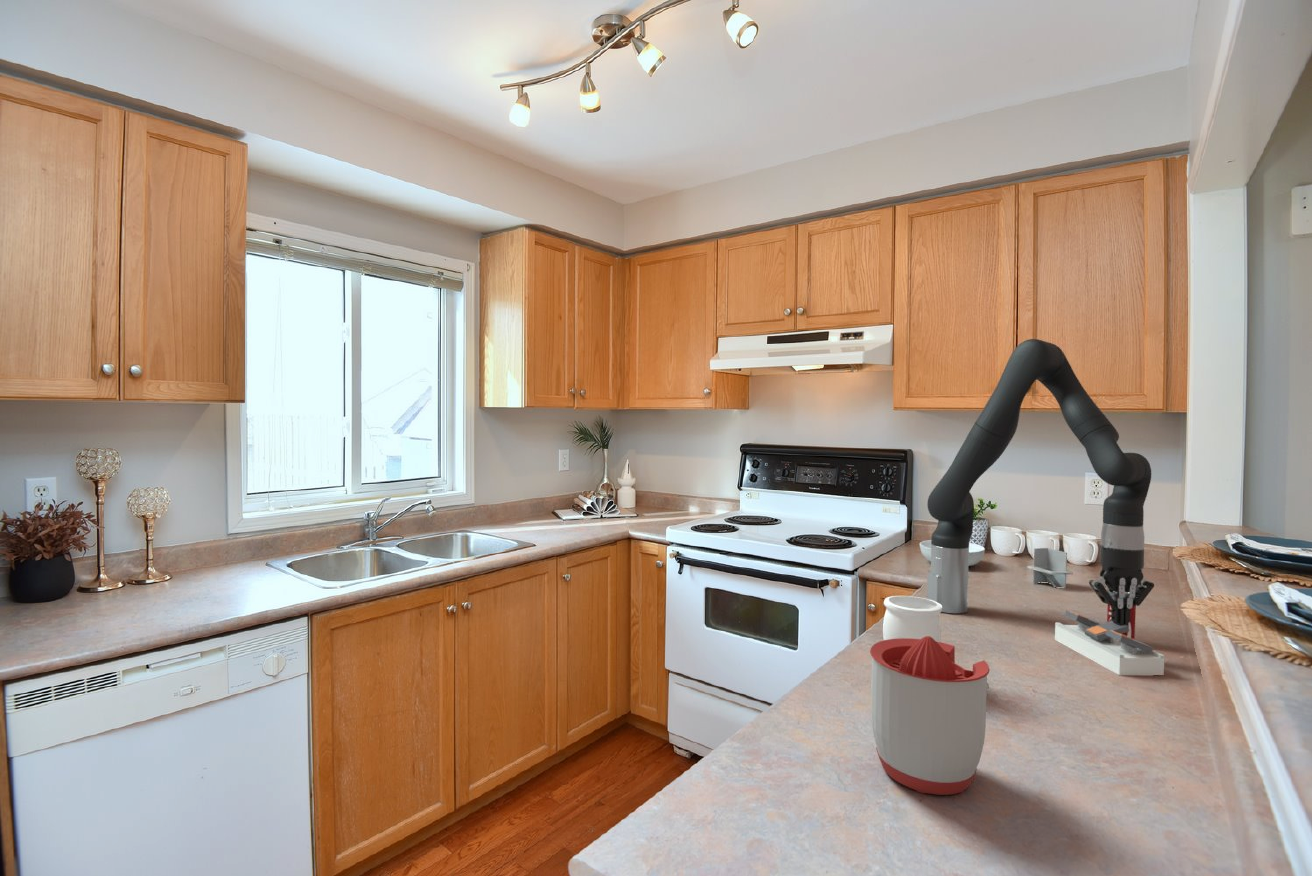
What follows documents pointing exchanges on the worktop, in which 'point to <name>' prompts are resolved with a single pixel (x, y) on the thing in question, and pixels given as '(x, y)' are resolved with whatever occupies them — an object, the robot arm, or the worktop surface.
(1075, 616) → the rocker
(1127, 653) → the power strip
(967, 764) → the citrus juicer
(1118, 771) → the worktop surface
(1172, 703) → the worktop surface
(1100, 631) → the rocker middle
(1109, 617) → the soda can
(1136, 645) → the rocker
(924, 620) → the jar
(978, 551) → the serving bowl
